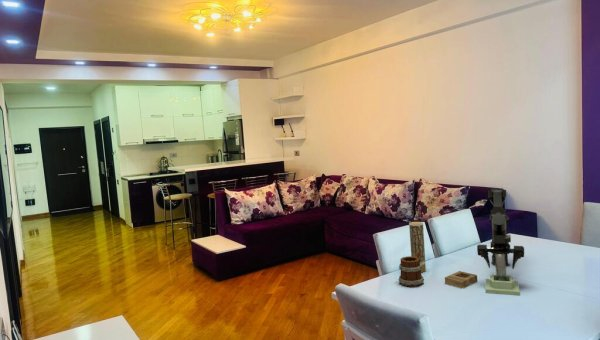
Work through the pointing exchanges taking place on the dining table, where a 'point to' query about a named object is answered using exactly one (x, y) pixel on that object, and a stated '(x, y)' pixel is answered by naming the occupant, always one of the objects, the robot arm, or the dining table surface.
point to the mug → (411, 271)
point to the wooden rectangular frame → (461, 279)
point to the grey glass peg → (500, 267)
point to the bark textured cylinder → (417, 242)
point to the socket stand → (502, 286)
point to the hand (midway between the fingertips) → (501, 268)
